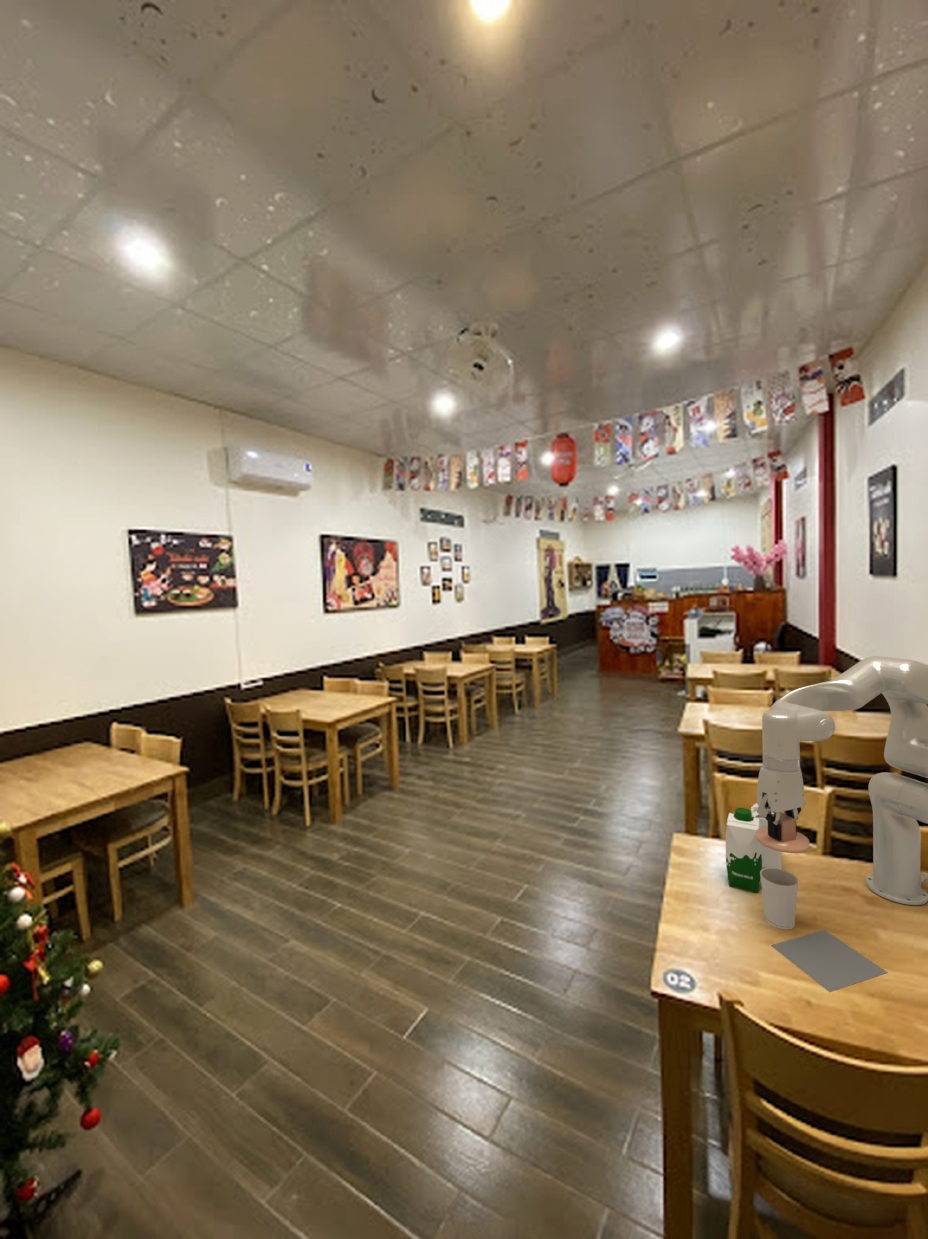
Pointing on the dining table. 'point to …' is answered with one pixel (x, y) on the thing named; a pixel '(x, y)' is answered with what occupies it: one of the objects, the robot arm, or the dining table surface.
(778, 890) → the cup
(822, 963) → the mat
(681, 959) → the dining table surface
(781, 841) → the lid
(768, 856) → the milk carton
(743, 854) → the soya milk
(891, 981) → the dining table surface
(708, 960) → the dining table surface
